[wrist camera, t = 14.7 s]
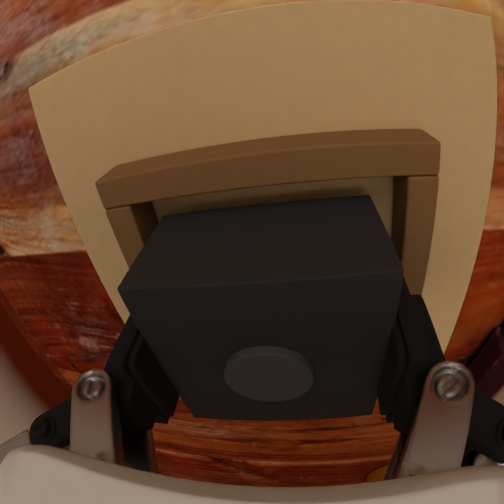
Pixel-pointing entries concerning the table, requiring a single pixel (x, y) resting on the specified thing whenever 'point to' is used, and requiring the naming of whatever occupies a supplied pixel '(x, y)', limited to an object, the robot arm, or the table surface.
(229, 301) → the black square block
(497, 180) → the table surface
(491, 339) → the book
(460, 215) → the base pad
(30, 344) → the table surface
